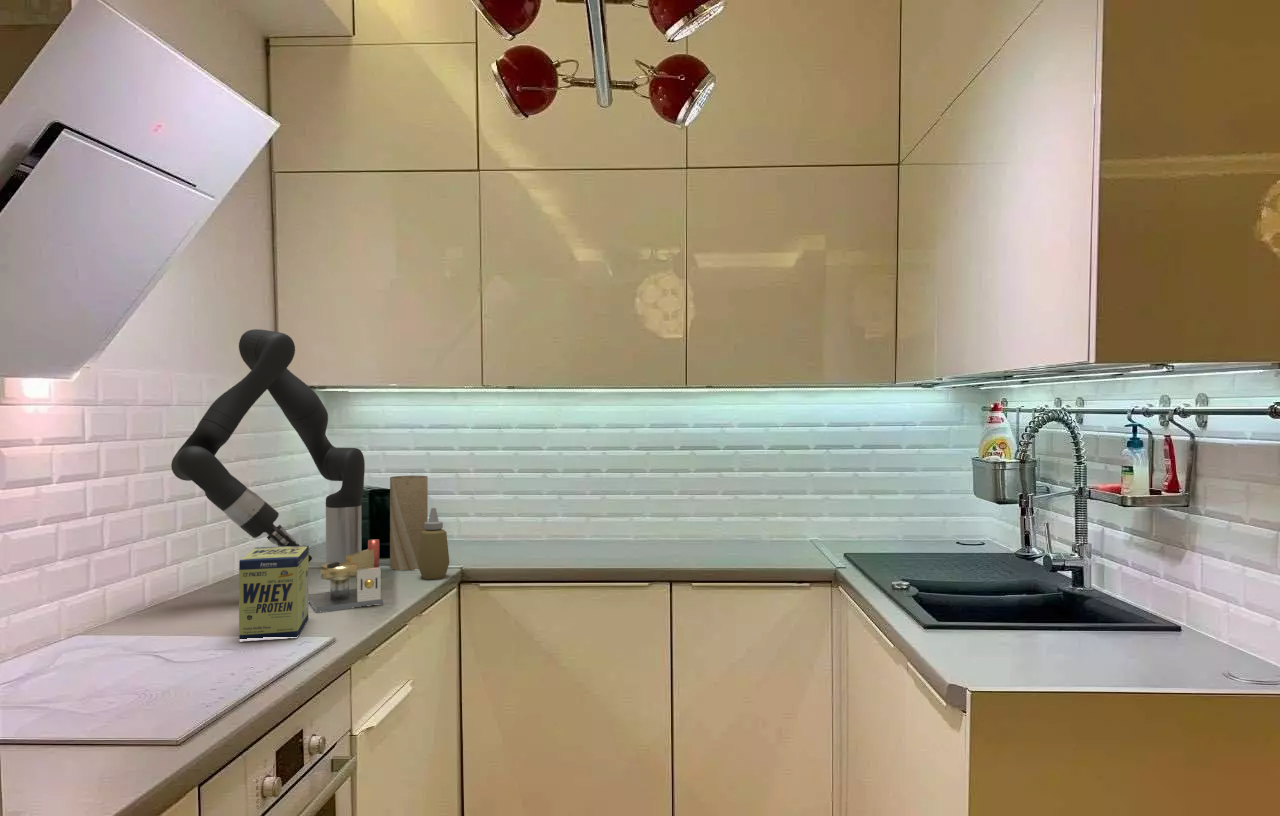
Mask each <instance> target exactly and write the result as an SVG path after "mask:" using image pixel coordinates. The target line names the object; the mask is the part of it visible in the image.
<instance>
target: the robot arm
mask: <svg viewBox="0 0 1280 816" xmlns="http://www.w3.org/2000/svg"><path fill="white" fill-rule="evenodd" d="M238 351H239V355H240V358H241V359H242V360H243V362H244V363H245V365H246V366H247V367H248V368H249V370H250V371H249V372H248V373H247V374H246V376H245V377H244V378H242V379H241V380H240V381H239V382H237V383H236V384H235V385H233V386H232V387H230V388H229V389H228V390H227V391H225V392H224V393H222V394H221V395H219V396H218V397H217V398H216V399H215V400H214V401H213V402H212V403H211V405H210V406H209V407H208V409H207V411H206V412H205V413H204V415H203V416H202V417H201V419H200V421H199V422H198V424H197V426H196V427H195V429H194V431H193V432H192V434H191V435H190V436H189V437H188V438H187V439H186V440H185V442H183V444H182V446H180V447H179V449H178V450H177V452H176V453H175V454H174V456H173V457H172V460H171V467H170V468H171V471H172V473H173V475H174V476H175V477H176V478H177V479H179V480H182V481H184V482H185V481H192V482H193V483H194V484H195V485H197V487H199V488H200V489H201V490H202V491H204V494H205V497H206V498H207V499H208V500H209V501H210V502H211V503H212V504H213V505H215V507H217V508H218V509H220V510H221V512H223V513H224V514H225V515H226V516H227V518H229V519H230V520H231V521H232V522H233V523H234V524H236V525H237V526H238V527H239V528H241V530H243V531H244V532H245V533H247V534H248V535H249V536H250V537H252V538H253V539H256V538H258V537H260V536H261V535H262V534H264V533H266V535H267V536H266V538H267V540H269V542H270V543H272V544H274V545H276V547H281V546H301V545H300V544H299V543H297V541H296V540H295V538H294V537H293V536H292V535H291V534H290V533H288V531H287V530H286V528H284V527H283V526H282V525H281V524H278V525H277V526H276V525H275V524H274V523H275V522H276V521H277V519H278V517H279V515H280V514H279V512H278V511H277V510H276V509H275V508H273V507H272V505H270V504H269V503H268V502H266V501H265V500H264V499H263V498H262V497H261V496H260V495H258V494H257V493H256V492H254V491H252V490H251V489H249V488H248V487H247V486H246V485H245V484H243V482H241V481H240V480H239V479H237V478H236V477H235V476H233V475H232V474H231V473H230V472H229V470H228V469H227V468H226V467H225V466H224V464H222V462H221V461H220V460H219V459H218V458H217V457H216V454H217V453H218V451H219V450H220V449H221V448H222V447H223V446H224V445H225V444H226V443H227V442H228V441H229V440H230V438H231V437H232V435H233V434H234V432H235V430H236V429H237V427H238V426H239V425H240V423H241V421H242V420H243V418H244V417H245V416H246V414H247V413H248V412H249V411H250V409H251V408H252V407H253V405H254V404H255V403H256V402H257V401H258V400H259V399H260V398H261V396H263V394H264V393H265V392H266V391H268V392H269V394H270V396H271V397H272V398H273V401H275V402H276V404H277V405H278V407H279V408H280V410H281V411H282V413H283V414H284V417H285V418H286V419H287V421H288V422H289V423H290V425H291V426H292V428H293V429H294V431H295V432H296V433H297V435H298V436H299V437H300V439H301V441H302V442H303V444H304V446H305V448H306V449H307V450H308V452H309V454H310V456H311V458H312V460H313V462H314V465H315V467H316V468H317V470H318V472H319V474H320V475H321V476H322V477H323V478H324V479H325V480H327V481H331V482H341V488H340V489H339V490H338V491H336V492H333V493H331V494H328V495H327V496H326V497H325V564H327V563H334V562H346V555H350V554H353V553H356V552H360V551H363V550H362V500H363V496H364V487H365V485H364V484H365V472H366V470H365V467H366V465H365V456H364V454H363V452H362V450H361V449H360V448H358V447H357V448H356V447H336V446H334V445H333V444H332V443H331V442H330V440H329V438H328V437H327V434H326V432H327V429H328V424H329V414H328V410H327V408H326V406H325V404H323V403H324V402H322V399H320V396H319V395H318V394H317V393H316V392H315V390H314V389H312V388H311V387H310V386H309V385H308V384H306V383H305V382H304V381H303V380H301V379H300V378H299V377H297V375H295V374H294V373H292V372H291V371H290V370H289V366H290V364H291V363H292V361H293V359H294V357H295V353H296V345H295V342H294V340H293V339H292V337H291V336H290V335H288V334H287V333H284V332H280V331H275V330H274V331H273V330H268V329H261V328H260V329H257V328H255V329H250V330H247V331H245V332H244V333H243V334H242V335H241V336H240V339H239V342H238ZM312 560H313V557H312V556H311V555H310V554H309V563H311V561H312Z"/></svg>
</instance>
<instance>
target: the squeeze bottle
mask: <svg viewBox="0 0 1280 816" xmlns="http://www.w3.org/2000/svg"><path fill="white" fill-rule="evenodd" d="M443 523H444V522H443V521H441V520H439V516H438V512H437V508H436V507H432V508H431V509H430V513H429V517H428V522H425V523H424V529H426V530H424V531H422V532H421V535H420V545H419V555H418V567H419V572H420V575H421V578H422V579H424V580H425V579H426V580H437V579H438V580H439V579H444V577H446V576H447V572H448V569H449V566H450V555H449V545H448V535H447V531H446V530H445V529H443V527H444V526H443V525H444V524H443Z"/></svg>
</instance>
